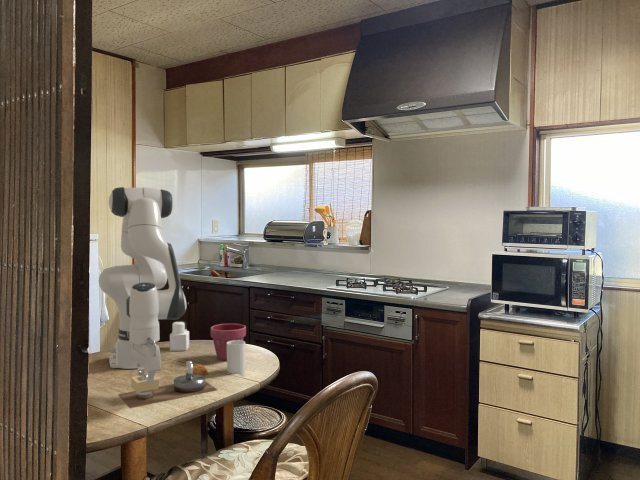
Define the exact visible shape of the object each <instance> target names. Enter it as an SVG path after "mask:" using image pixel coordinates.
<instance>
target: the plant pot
mask: <svg viewBox="0 0 640 480" xmlns="http://www.w3.org/2000/svg"><path fill="white" fill-rule="evenodd" d="M246 335H247V326H246V325H245V324H240V323H219V324H215V325H213V326H210V338H212V341H213V346H214V350H215V353H216V358H217V359H218V360H220V361H227V342H229V341H233V340H241V341H244V337H246Z"/></svg>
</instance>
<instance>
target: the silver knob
mask: <svg viewBox="0 0 640 480" xmlns="http://www.w3.org/2000/svg"><path fill="white" fill-rule="evenodd" d="M147 376H148V373H145V374H142V375H141V381H144V380H147ZM153 397H154V389H153V390H148V391H143V392H138V393H137V392H136V398H137V399H139V400H146V399H150V398H153Z"/></svg>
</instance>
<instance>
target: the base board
mask: <svg viewBox="0 0 640 480" xmlns="http://www.w3.org/2000/svg"><path fill="white" fill-rule="evenodd" d="M215 391H218V389H217V388H216V387H214V386H213V385H212V384H210V383H209V382H207V381H206V380H205V388H204V389H203V390H201V391H199V392H195V393H178V392H176V391H174V383H171V384H165V385H161V386H159V388H158V389H154V397H153V398H150V399H146V400H139V399H137V398H136V391H135V390H133V391H129V392H123V393H118V394H117V395H118V396H119V398H120V399H121V400H122V401H123V402H124V404H125V405H126V406H127V407H128V408H129V409H134V408H138V407H143V406H147V405H153V404H158V403H162V402H167V401H168V402H169V401H172V400H173V401H174V400H177V399H182V398H187V397H191V396H197V395H201V394H205V393H209V392H215Z"/></svg>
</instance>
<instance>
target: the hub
mask: <svg viewBox="0 0 640 480" xmlns="http://www.w3.org/2000/svg"><path fill="white" fill-rule="evenodd" d="M193 363H194V362H193V361H191V360H188V361H186V362H185V374H183V375H180V376H176V377H175V378H174V379H173V384H174V391H176V392H178V393H195V392H199V391H201V390H203V389H204V388H205V381H206V378H205V376H202V375H197V374H193V365H194V364H193Z"/></svg>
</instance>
